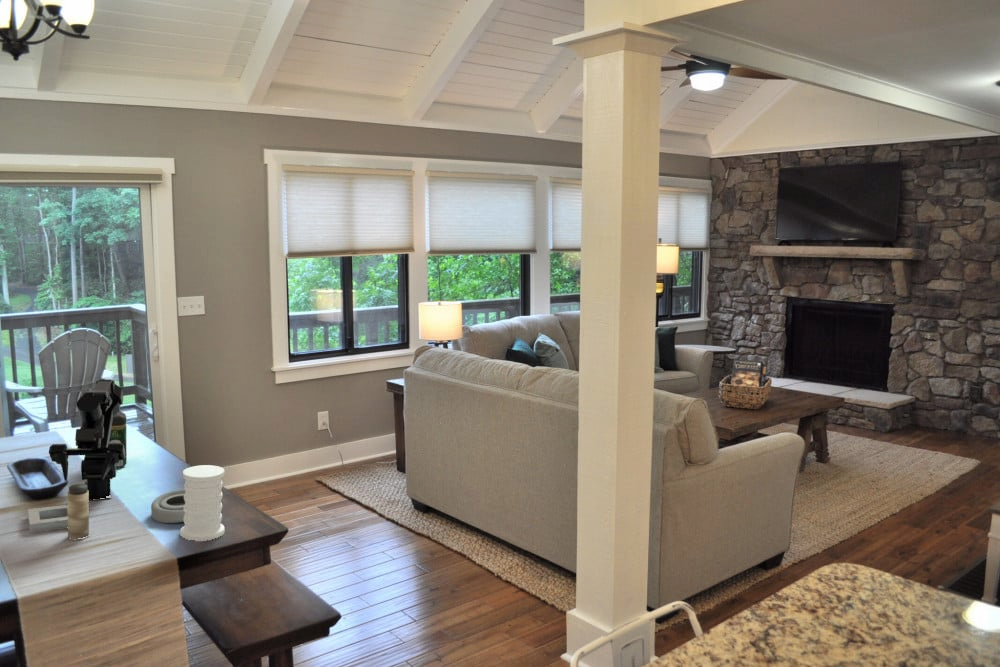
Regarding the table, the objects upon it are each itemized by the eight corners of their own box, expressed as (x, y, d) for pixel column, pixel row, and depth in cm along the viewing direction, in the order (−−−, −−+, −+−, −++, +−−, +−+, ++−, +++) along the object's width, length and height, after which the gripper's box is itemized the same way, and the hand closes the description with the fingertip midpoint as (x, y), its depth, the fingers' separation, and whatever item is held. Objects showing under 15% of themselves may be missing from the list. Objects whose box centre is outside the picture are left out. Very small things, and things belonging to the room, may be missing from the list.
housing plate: (76, 512, 231) (76, 503, 231) (80, 526, 221) (80, 518, 221) (28, 517, 225) (27, 509, 224) (29, 533, 215) (29, 524, 214)
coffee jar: (100, 461, 277) (100, 409, 274) (126, 459, 280) (126, 408, 278) (101, 470, 268) (101, 416, 265) (126, 468, 272) (127, 415, 269)
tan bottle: (87, 531, 218) (87, 482, 216) (89, 538, 214) (89, 488, 212) (67, 534, 215) (66, 484, 214) (68, 541, 211) (68, 490, 209)
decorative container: (193, 544, 215) (194, 480, 212) (172, 531, 222) (173, 469, 220) (232, 534, 223) (233, 472, 221) (211, 522, 231) (212, 462, 228)
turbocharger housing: (140, 520, 232) (173, 533, 225) (139, 498, 231) (171, 511, 223) (189, 500, 246) (222, 512, 239) (188, 481, 245) (221, 492, 237)
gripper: (50, 416, 220) (40, 466, 211) (123, 415, 226) (117, 465, 217) (56, 436, 229) (47, 485, 220) (127, 435, 234) (122, 483, 225)
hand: (83, 479), depth 220 cm, fingers open, 9 cm apart
